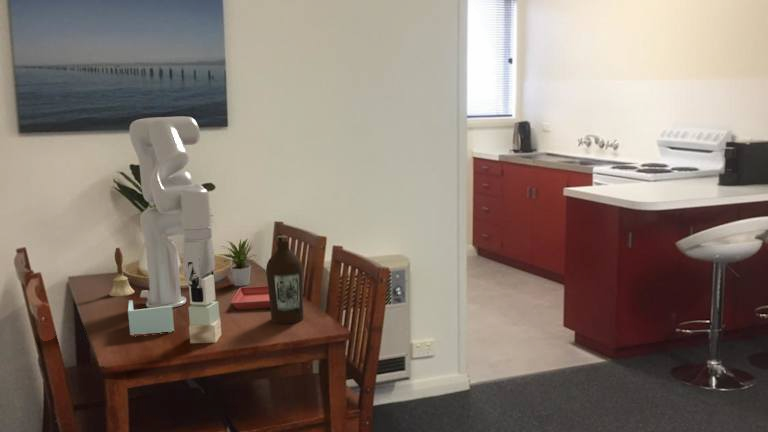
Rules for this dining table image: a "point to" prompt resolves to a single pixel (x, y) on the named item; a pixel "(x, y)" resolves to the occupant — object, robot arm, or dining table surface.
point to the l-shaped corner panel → (150, 320)
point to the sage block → (204, 313)
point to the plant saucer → (252, 298)
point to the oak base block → (205, 333)
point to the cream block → (206, 290)
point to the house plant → (239, 263)
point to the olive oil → (285, 284)
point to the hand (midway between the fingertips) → (202, 298)
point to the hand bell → (120, 278)
